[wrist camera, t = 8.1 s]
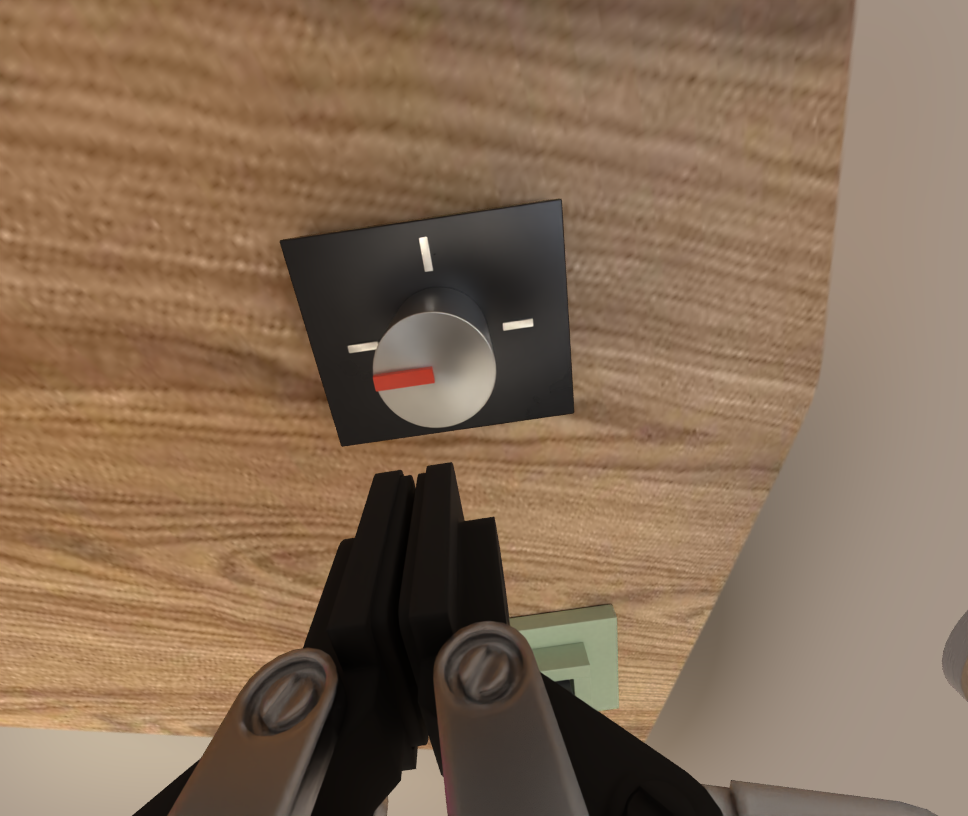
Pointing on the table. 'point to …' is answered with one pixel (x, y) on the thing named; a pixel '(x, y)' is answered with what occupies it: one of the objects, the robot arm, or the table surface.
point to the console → (439, 263)
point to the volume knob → (435, 359)
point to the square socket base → (577, 651)
